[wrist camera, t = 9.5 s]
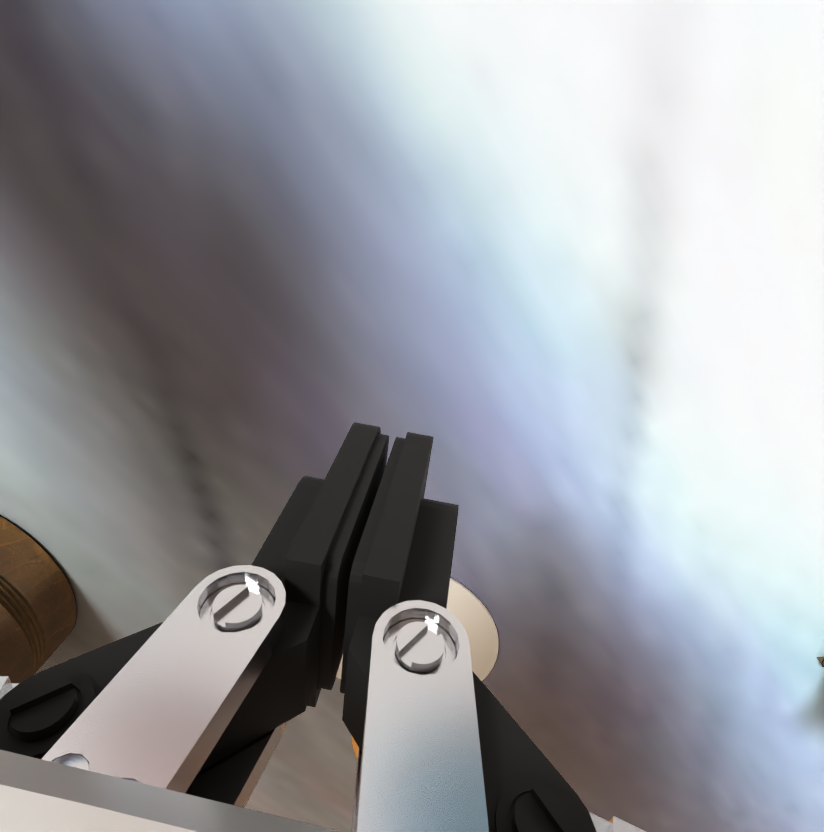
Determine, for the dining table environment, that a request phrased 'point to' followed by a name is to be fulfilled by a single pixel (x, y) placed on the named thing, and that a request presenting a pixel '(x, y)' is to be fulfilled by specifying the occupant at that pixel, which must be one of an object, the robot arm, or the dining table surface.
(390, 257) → the dining table surface
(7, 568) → the wooden container
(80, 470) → the dining table surface
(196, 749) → the robot arm
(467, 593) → the cream disc
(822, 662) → the game die
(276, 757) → the dining table surface
